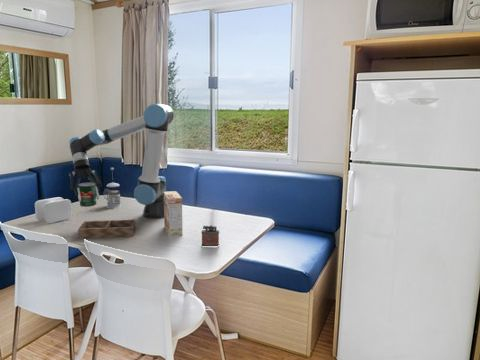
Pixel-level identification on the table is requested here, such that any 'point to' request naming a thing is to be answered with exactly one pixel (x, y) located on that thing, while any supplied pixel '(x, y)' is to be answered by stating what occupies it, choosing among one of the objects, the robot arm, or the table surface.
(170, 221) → the coffeecake box
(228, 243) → the table surface
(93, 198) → the canned tomato
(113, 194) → the french press
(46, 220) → the cable organizer
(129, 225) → the slot caddy
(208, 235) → the lighter
